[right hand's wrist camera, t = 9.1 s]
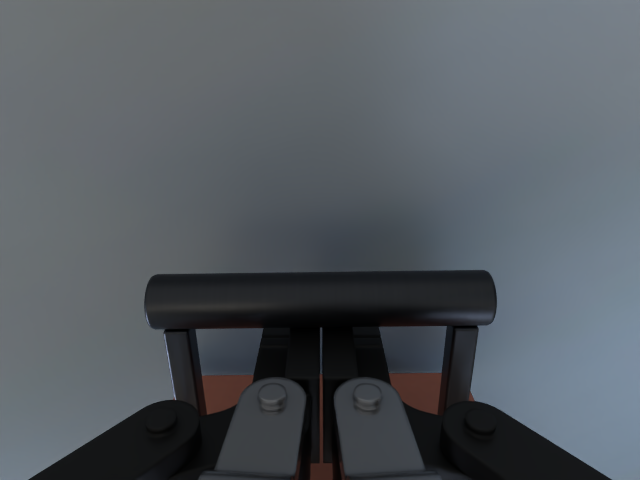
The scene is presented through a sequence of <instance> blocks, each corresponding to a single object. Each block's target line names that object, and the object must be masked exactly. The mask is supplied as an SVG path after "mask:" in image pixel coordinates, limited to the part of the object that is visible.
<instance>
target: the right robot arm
mask: <svg viewBox="0 0 640 480" xmlns="http://www.w3.org/2000/svg"><path fill="white" fill-rule="evenodd" d="M380 336H381V335H380V331H379V327H322V383H323V463H332V472H333V480H611V479H610V478H608V477H607V476H605V475H603V474H602V473H600V472H599V471H597V470H595V469H594V468H592V467H591V466H589V465H587V464H586V463H584V462H582V461H581V460H579V459H578V458H576V457H574V456H573V455H571V454H570V453H568V452H566V451H565V450H563V449H562V448H560V447H558V446H557V445H555V444H554V443H552V442H550V441H549V440H547V439H546V438H544V437H542V436H541V435H539V434H537V433H536V432H534V431H533V430H531V429H529V428H528V427H526V426H525V425H523V424H521V423H520V422H518V421H517V420H515V419H513V418H512V417H510V416H509V415H507V414H505V413H504V412H502V411H501V410H499V409H497V408H495V407H493V406H491V405H488V404H485V403H481V402H476V401H462V402H457V403H454V404H452V405H450V406H449V407H448V408H447V409H446V410H445V412H444V414H443V416H440V415H436V414H432V413H428V412H424V411H421V410H418V409H415V408H413V407H411V406H409V405H407V404H406V403H405V402H403V401H402V400H401V397H400V395H399V393H398V392H397V390H396V389H395V388H394V387H393V386H392V385H391V381H390V376H389V372H388V367H387V363H386V358H385V354H384V349H383V345H382V340H381V337H380ZM311 463H320V327H308V328H264V329H263V333H262V338H261V343H260V348H259V352H258V357H257V362H256V367H255V371H254V376H253V381H252V384H250V385H249V386H247V387H246V388H245V389H244V390H243V392H242V393H241V395H240V397H239V400H238V403H237V404H236V405H234V406H232V407H231V408H228V409H226V410H223V411H220V412H216V413H212V414H208V415H204V416H199V414H198V411H197V410H196V408H195V407H194V406H193V405H191V404H189V403H187V402H184V401H180V400H165V401H160V402H157V403H153V404H151V405H149V406H146V407H145V408H143V409H141V410H139V411H138V412H136V413H135V414H133V415H131V416H130V417H128V418H127V419H125V420H123V421H122V422H120V423H119V424H117V425H115V426H114V427H112V428H111V429H109V430H107V431H106V432H104V433H103V434H101V435H99V436H98V437H96V438H94V439H93V440H91V441H90V442H88V443H86V444H85V445H83V446H82V447H80V448H78V449H77V450H75V451H74V452H72V453H70V454H69V455H67V456H66V457H64V458H62V459H61V460H59V461H58V462H56V463H54V464H53V465H51V466H49V467H48V468H46V469H45V470H43V471H41V472H40V473H38V474H37V475H35V476H33V477H32V478H30V479H29V480H310V475H311Z"/></svg>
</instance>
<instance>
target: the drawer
mask: <svg viewBox="0 0 640 480" xmlns="http://www.w3.org/2000/svg"><path fill="white" fill-rule="evenodd" d="M496 307H497V296H496V289H495V284H494V281H493V278H492V276H491V275H490V273H489V272H487V271H485V270H451V271H373V272H295V273H217V274H157V275H154V276H152V277H151V278H150V280H149V282H148V284H147V288H146V292H145V301H144V308H145V316H146V320H147V323H148V325H149V326H150V327H151V328H153V329H165V330H164V339H165V345H166V350H167V356H168V362H169V368H170V374H171V380H172V385H173V391H174V399H173V400H180V401H184V402H187V403H189V404H191V405H193V406H194V407H195V408H196V410H197V411H198V414H199V416H204V415H208V414H212V413H216V412H220V411H223V410H226V409H228V408H231V407H232V406H234V405H236V404H237V403H238V400H239V397H240V395H241V393H242V392H243V390H244V389H245V388H246V387H247V386H249V385H250V384H252V381H253V376H254V375H211V376H202V374H201V367H200V359H199V352H198V345H197V338H196V331H195V329H225V328H308V327H391V326H447V329H446V338H445V348H444V357H443V366H442V373H389V376H390V381H391V385H392V386H393V387H394V388H395V389H396V390H397V392H398V393H399V395H400V397H401V400H402V401H403V402H405V403H406V404H407V405H409V406H411V407H413V408H415V409H418V410H421V411H424V412H428V413H432V414H436V415H440V416H443V414H444V412H445V410H446V409H447V408H448V407H449V406H450V405H452V404H454V403H457V402H462V401H474V398H473V396H472V394H471V392H470V388H471V380H472V373H473V366H474V359H475V352H476V344H477V337H478V330H479V329H478V326H477V325H489V324H491V323H492V322H493V320H494V318H495V314H496ZM310 480H333V472H332V463H323V383H322V374H320V463H311V475H310Z"/></svg>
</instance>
